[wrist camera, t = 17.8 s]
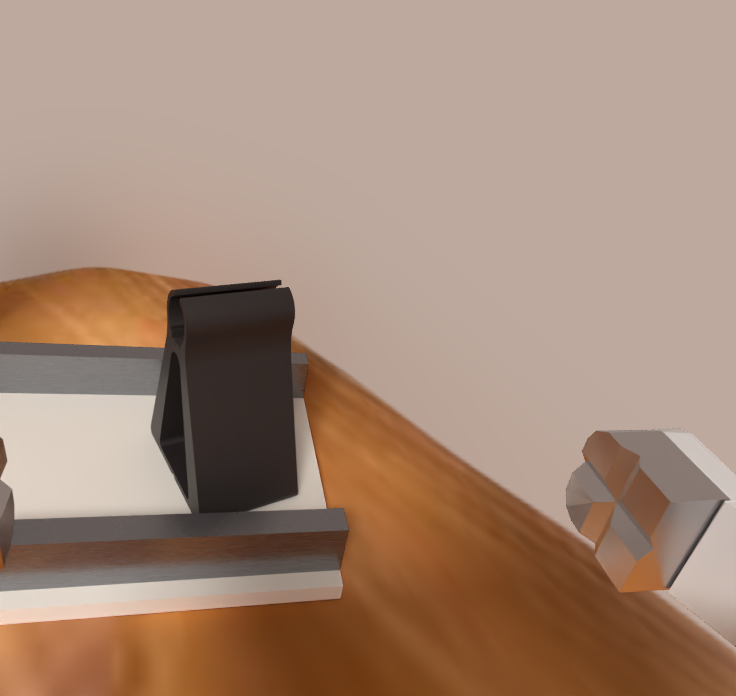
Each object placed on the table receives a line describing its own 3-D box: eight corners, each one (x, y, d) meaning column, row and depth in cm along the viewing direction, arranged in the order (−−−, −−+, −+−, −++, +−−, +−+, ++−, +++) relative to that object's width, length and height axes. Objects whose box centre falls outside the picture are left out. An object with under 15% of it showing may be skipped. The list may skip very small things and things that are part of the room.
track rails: (-160, 601, 26) (-179, 553, 24) (-28, 379, 40) (-35, 340, 38) (339, 570, 32) (348, 530, 30) (300, 386, 46) (305, 353, 44)
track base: (-166, 637, 25) (-172, 622, 25) (-21, 383, 41) (-23, 370, 41) (340, 598, 31) (343, 586, 31) (297, 389, 47) (299, 379, 47)
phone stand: (150, 431, 38) (149, 257, 33) (238, 412, 42) (252, 251, 36) (198, 529, 32) (208, 338, 26) (297, 498, 36) (325, 322, 30)
